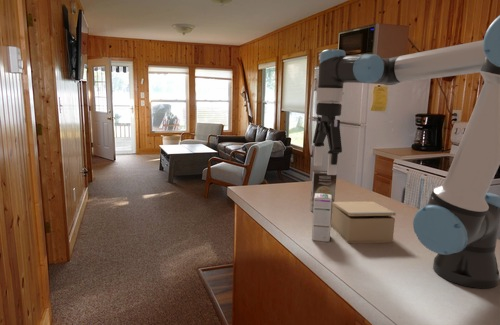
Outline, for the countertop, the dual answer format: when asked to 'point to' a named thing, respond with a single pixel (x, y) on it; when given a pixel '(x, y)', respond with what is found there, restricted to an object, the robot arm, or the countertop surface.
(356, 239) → the cardboard box
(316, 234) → the syrup box
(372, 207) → the box lid
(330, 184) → the coffee box
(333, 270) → the countertop surface
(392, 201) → the countertop surface
